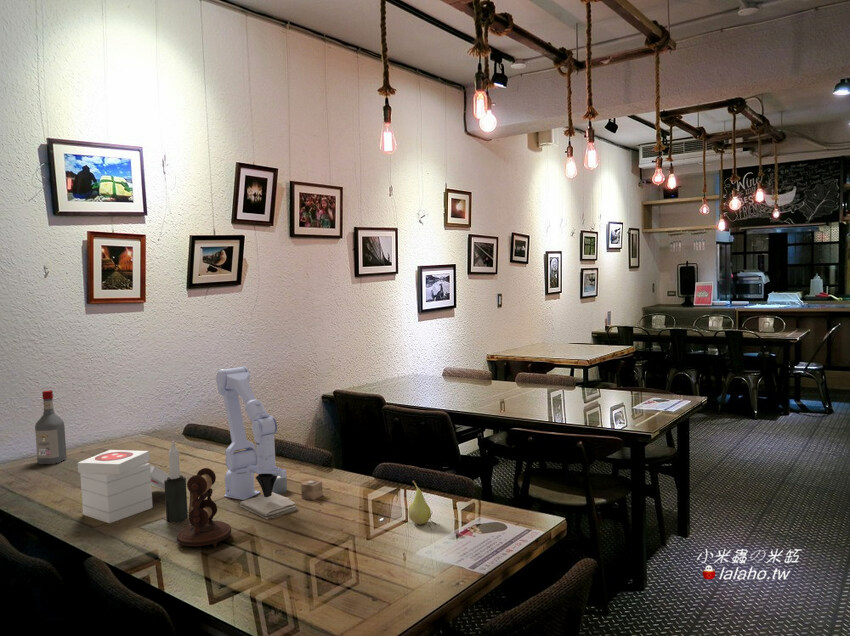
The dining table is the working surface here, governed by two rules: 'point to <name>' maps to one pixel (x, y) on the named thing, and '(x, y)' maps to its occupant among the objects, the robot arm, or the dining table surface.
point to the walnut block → (311, 489)
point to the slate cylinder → (280, 485)
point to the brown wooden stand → (202, 513)
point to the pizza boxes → (118, 484)
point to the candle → (175, 490)
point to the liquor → (50, 434)
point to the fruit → (419, 509)
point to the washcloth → (269, 505)
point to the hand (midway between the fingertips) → (267, 496)
